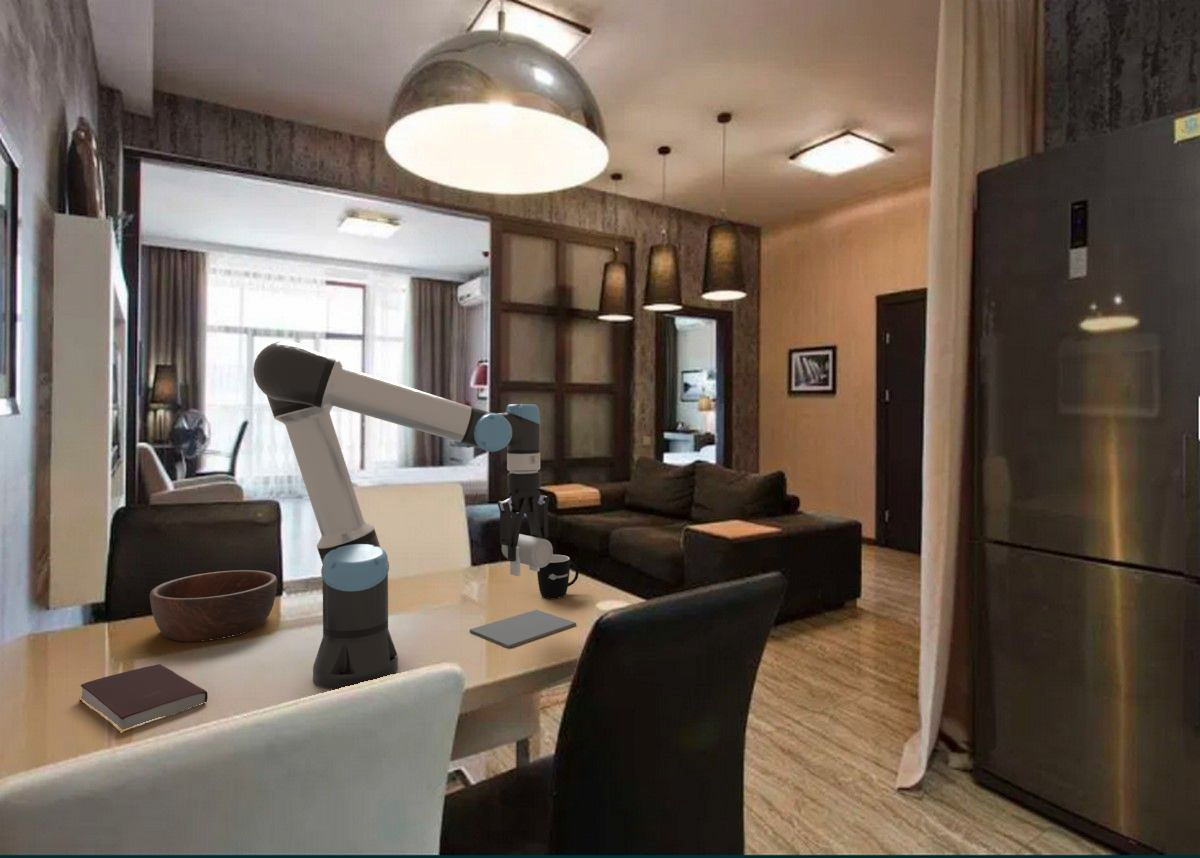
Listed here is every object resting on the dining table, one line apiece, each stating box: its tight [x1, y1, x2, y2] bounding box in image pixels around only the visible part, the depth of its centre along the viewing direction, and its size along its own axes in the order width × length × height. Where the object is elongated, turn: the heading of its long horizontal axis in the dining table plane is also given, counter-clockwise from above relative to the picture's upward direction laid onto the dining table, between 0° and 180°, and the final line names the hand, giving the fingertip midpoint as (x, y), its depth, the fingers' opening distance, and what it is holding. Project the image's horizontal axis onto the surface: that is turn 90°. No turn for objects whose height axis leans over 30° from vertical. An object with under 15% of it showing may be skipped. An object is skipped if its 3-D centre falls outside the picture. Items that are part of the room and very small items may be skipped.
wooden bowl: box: [149, 569, 278, 642], centre depth 146 cm, size 25×25×10 cm
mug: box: [536, 554, 580, 599], centre depth 173 cm, size 12×9×10 cm
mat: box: [469, 609, 577, 649], centre depth 146 cm, size 20×14×1 cm
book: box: [80, 663, 209, 730], centre depth 109 cm, size 12×19×3 cm, turn 54°
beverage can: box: [501, 533, 554, 568], centre depth 146 cm, size 6×6×12 cm
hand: (525, 572), depth 146 cm, fingers closed on beverage can, 5 cm apart
